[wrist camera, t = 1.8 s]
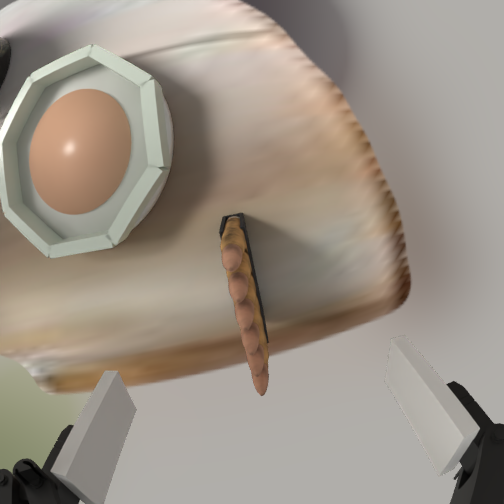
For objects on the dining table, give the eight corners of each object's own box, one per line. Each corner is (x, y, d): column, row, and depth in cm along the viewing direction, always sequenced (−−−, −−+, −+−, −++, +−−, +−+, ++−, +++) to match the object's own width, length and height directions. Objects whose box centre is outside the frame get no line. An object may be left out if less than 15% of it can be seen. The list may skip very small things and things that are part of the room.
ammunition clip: (264, 317, 29) (278, 402, 17) (246, 321, 29) (251, 406, 17) (242, 212, 26) (245, 247, 14) (222, 216, 26) (208, 255, 14)
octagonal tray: (34, 257, 26) (14, 268, 22) (15, 98, 21) (-6, 94, 17) (188, 230, 26) (180, 240, 22) (165, 38, 21) (154, 20, 17)
